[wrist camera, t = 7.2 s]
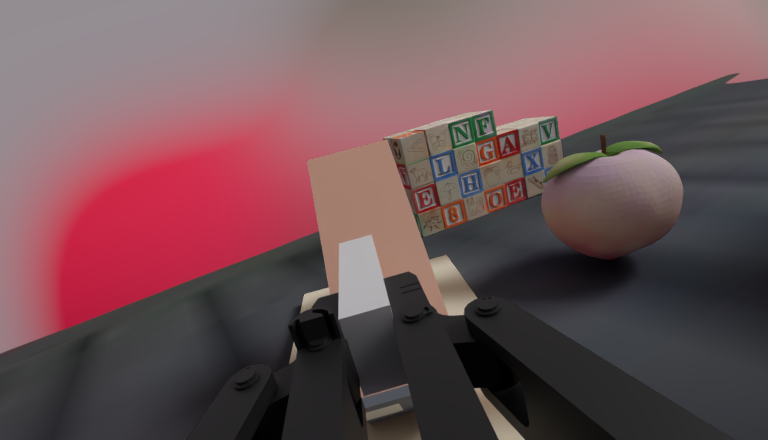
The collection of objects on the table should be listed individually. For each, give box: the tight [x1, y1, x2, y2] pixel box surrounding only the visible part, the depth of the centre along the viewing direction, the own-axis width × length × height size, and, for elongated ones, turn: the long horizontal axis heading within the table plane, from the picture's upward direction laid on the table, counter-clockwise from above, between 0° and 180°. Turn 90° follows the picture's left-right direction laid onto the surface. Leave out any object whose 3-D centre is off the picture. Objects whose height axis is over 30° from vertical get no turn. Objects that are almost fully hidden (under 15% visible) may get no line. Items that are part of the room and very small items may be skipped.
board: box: [289, 255, 525, 440], centre depth 25 cm, size 24×14×1 cm, turn 6°
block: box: [307, 140, 448, 423], centre depth 21 cm, size 5×5×14 cm
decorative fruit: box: [541, 134, 683, 260], centre depth 29 cm, size 9×8×10 cm
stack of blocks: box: [383, 110, 563, 237], centre depth 49 cm, size 21×6×12 cm, turn 108°
